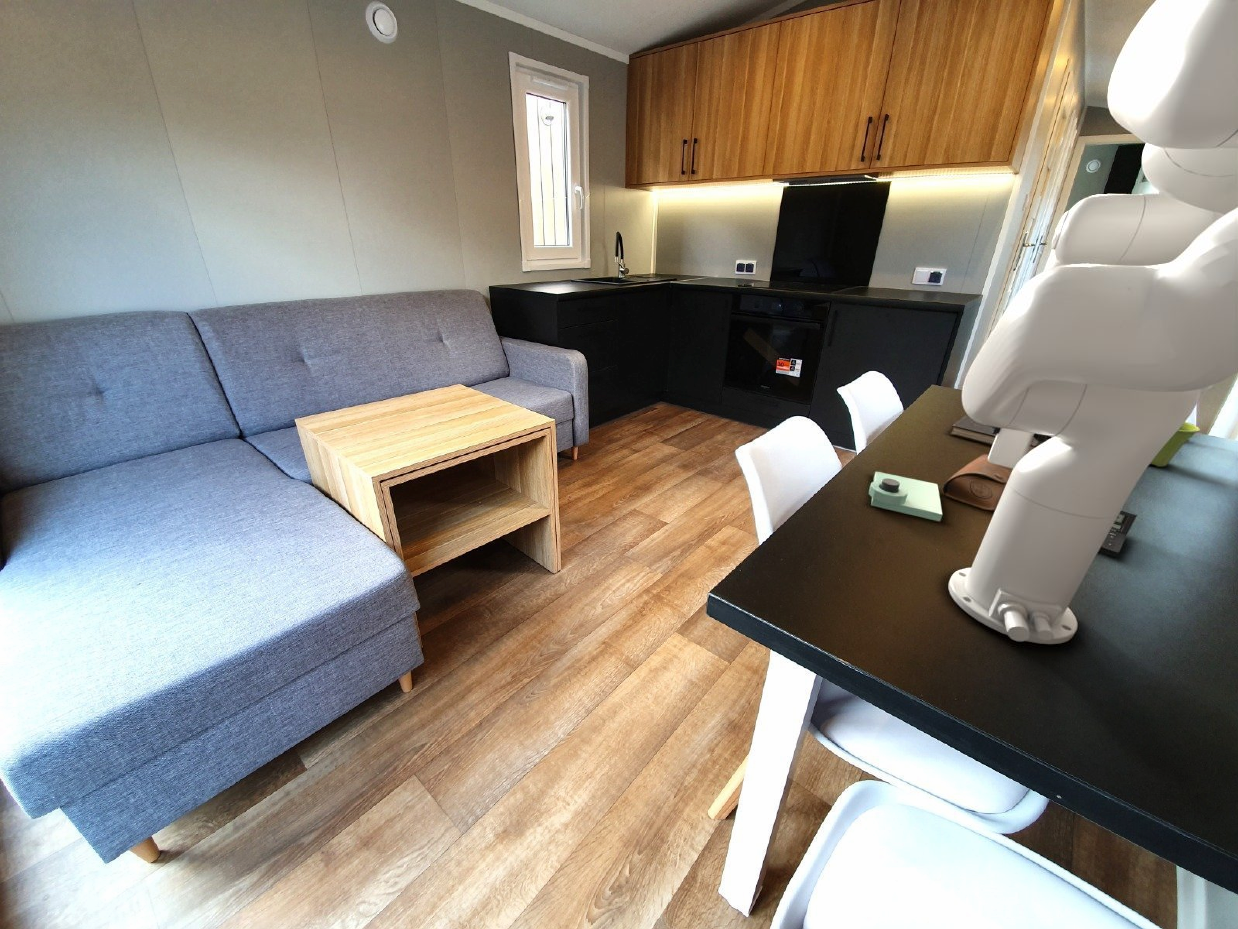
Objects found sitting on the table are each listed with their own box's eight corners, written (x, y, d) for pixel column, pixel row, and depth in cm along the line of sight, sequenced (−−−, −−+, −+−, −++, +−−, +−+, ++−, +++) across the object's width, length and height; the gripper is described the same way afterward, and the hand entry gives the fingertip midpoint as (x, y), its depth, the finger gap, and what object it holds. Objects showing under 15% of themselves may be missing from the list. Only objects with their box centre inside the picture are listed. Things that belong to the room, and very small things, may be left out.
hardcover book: (949, 434, 114) (952, 425, 113) (975, 413, 128) (978, 405, 127) (1034, 456, 103) (1038, 446, 102) (1052, 431, 118) (1056, 422, 117)
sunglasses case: (997, 511, 80) (986, 473, 80) (949, 515, 86) (938, 479, 86) (1025, 481, 91) (1015, 447, 91) (981, 486, 97) (971, 454, 96)
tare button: (897, 495, 80) (900, 486, 79) (879, 491, 81) (882, 483, 80) (897, 488, 82) (900, 480, 81) (880, 485, 83) (882, 476, 82)
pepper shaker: (985, 462, 74) (1008, 402, 71) (991, 456, 77) (1013, 397, 73) (1017, 471, 72) (1043, 409, 68) (1022, 464, 74) (1047, 404, 71)
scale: (940, 524, 77) (946, 507, 76) (865, 506, 81) (870, 490, 80) (935, 491, 87) (940, 476, 86) (869, 476, 92) (873, 462, 90)
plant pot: (1187, 467, 101) (1210, 427, 97) (1162, 473, 98) (1185, 433, 94) (1131, 449, 109) (1150, 412, 105) (1106, 455, 105) (1125, 417, 102)
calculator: (1036, 529, 77) (1043, 512, 75) (1053, 506, 83) (1061, 491, 82) (1115, 557, 70) (1125, 540, 69) (1128, 530, 77) (1137, 514, 76)
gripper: (995, 303, 65) (951, 431, 73) (1164, 316, 59) (1096, 456, 66) (986, 299, 72) (946, 417, 79) (1138, 311, 65) (1079, 439, 72)
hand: (1015, 434), depth 72 cm, fingers closed on pepper shaker, 4 cm apart
